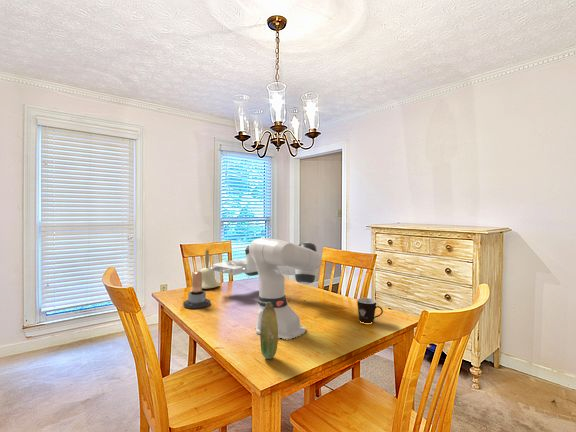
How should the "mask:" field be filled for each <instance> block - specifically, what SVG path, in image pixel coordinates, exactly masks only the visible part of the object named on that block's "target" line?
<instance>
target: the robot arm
mask: <svg viewBox="0 0 576 432" xmlns="http://www.w3.org/2000/svg"><path fill="white" fill-rule="evenodd" d="M244 251H245V252H244V253H245V257H244V258H241V259H233V260H232V259H231V260H224V261H221V262H217V263H213V264H212V267H210V268H211V271H214V272H218V273H222V274H229V275H231V276H237V275H241V274H246V276H249V277H253V276H254V277H255V276H258V287H259V289H258V292H259V293H258V296H257V304H258V311H257V319H256V322H255V326H254V327H255V330H256V331H255V334H257V335H260V327H261V317H262V313H263V310H264V308H265V306H266V303H267V302H271V303H272V304H273V307H274V310H275V312H276V317H277V324H278V339H280V338H282V339H281V340H285V339H289V340H293V339H292V338H294V339H296V338H298V337H297V336H299V335H300V336H302V335H304V334H305V333H306V331H305V330H307V329H306V327H305V326H303V325H301V320H300V319H301V318H300V316H299V314H298V313H296V312H295V311H294V310H293V309H292V307H291V306H289V304H288V302H290V298H287V297H286V295H285V276H294V278H295V281H296V282H297V283H298V284H300V285H305V286H306V285H307V286H308V285H310V284H313V283H314V282H315V279H316V273H317V271H316V270H317V269H319V267H320V266H321V262H322V259H321V258H322V257H321V256H320V254H319V253H318V251H317V246H316V245H315V243H312V242H309V241H305V242H300V243H299V244H298V245H297V244H294V243H292V242H290V241H287V240H283V239H277V238H267V237H260V238H255V239H253V240H252V241H251V242H250V244H249V245H247V247H246V248H245V249H244ZM284 275H285V276H284ZM301 334H302V335H301ZM300 336H299V337H300ZM295 337H296V338H295Z"/></svg>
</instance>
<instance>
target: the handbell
mask: <svg viewBox="0 0 576 432" xmlns="http://www.w3.org/2000/svg"><path fill="white" fill-rule="evenodd" d="M204 252H205V253H204V263H205V267H203V268H201V269H200V272H202V289H213V288H217V287H219V285H220V284H219V282H218V281H217V280H216V278H215V271H211V268H212V267H210V266H209V264H210V263H209V262H210V253H209V248H207V249H206V250H205V251H204Z"/></svg>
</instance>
